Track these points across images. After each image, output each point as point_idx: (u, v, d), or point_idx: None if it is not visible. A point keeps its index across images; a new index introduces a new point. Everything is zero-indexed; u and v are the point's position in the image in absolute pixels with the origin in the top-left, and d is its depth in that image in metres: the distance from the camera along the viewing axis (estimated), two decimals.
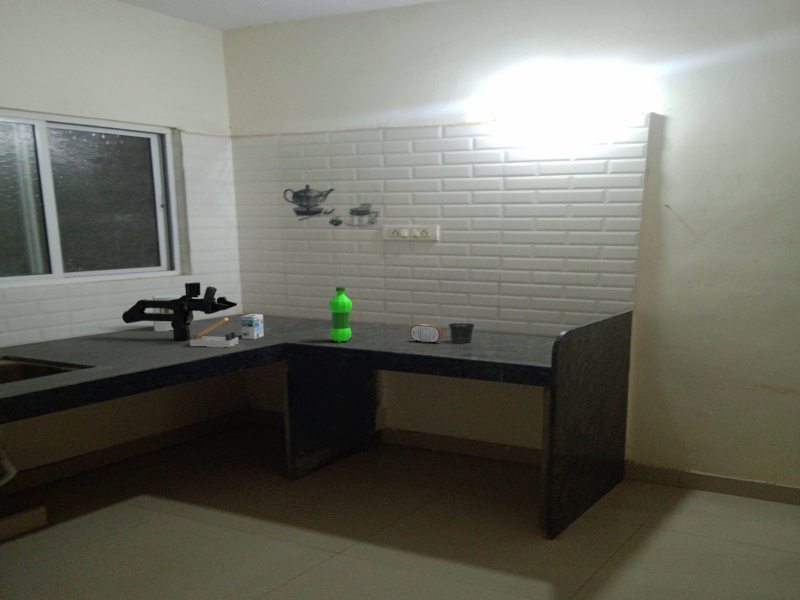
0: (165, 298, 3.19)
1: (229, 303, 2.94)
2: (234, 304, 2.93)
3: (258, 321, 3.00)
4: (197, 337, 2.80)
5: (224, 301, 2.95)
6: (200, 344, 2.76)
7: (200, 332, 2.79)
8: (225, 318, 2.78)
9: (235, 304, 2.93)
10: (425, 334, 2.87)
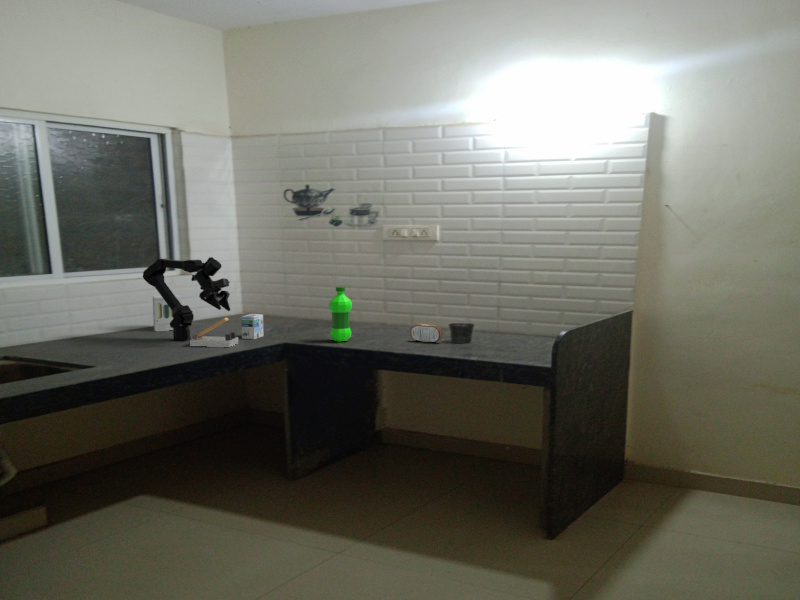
0: None
1: (225, 303, 2.88)
2: (228, 308, 2.87)
3: (258, 321, 3.00)
4: (197, 337, 2.80)
5: (224, 298, 2.89)
6: (200, 344, 2.76)
7: (200, 332, 2.79)
8: (225, 318, 2.78)
9: (228, 309, 2.87)
10: (425, 334, 2.87)
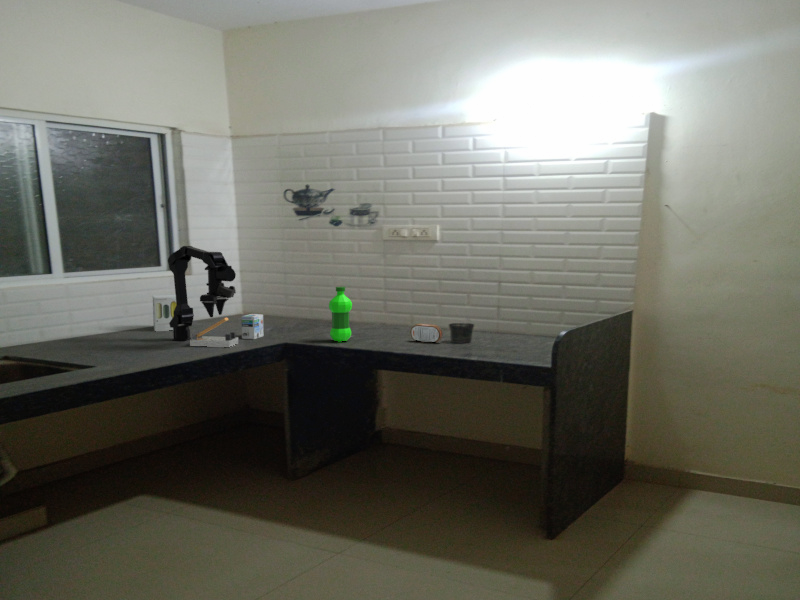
0: (165, 298, 3.19)
1: (220, 306, 2.83)
2: (219, 312, 2.83)
3: (258, 321, 3.00)
4: (197, 337, 2.80)
5: (222, 301, 2.83)
6: (200, 344, 2.76)
7: (200, 332, 2.79)
8: (225, 318, 2.78)
9: (220, 313, 2.83)
10: (425, 334, 2.87)
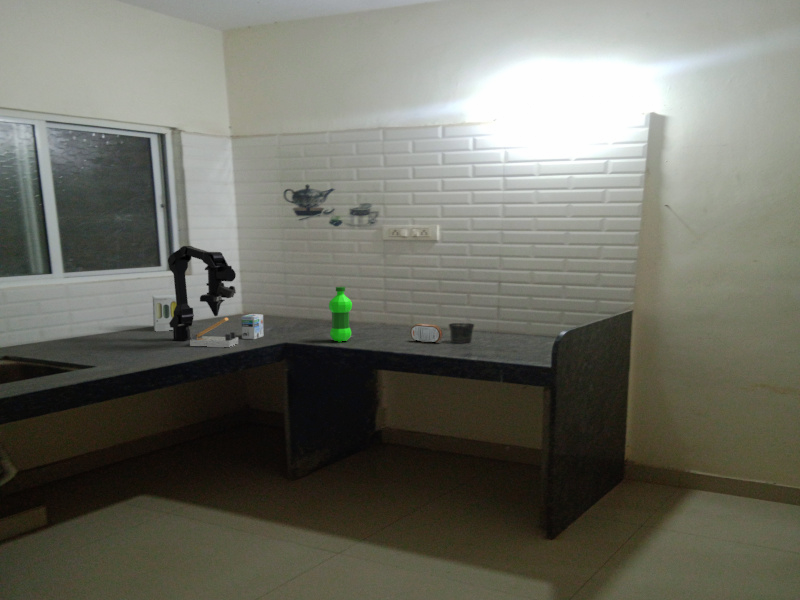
0: (165, 298, 3.19)
1: None
2: None
3: (258, 321, 3.00)
4: (197, 337, 2.80)
5: None
6: (200, 344, 2.76)
7: (200, 332, 2.79)
8: (225, 318, 2.78)
9: None
10: (425, 334, 2.87)
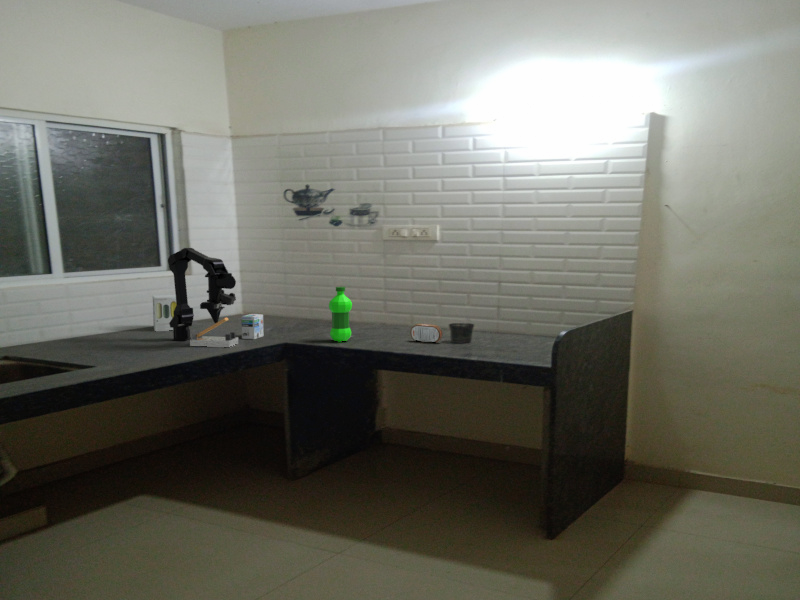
0: (165, 298, 3.19)
1: None
2: None
3: (258, 321, 3.00)
4: (197, 337, 2.80)
5: None
6: (200, 344, 2.76)
7: (200, 332, 2.79)
8: (225, 318, 2.78)
9: None
10: (425, 334, 2.87)
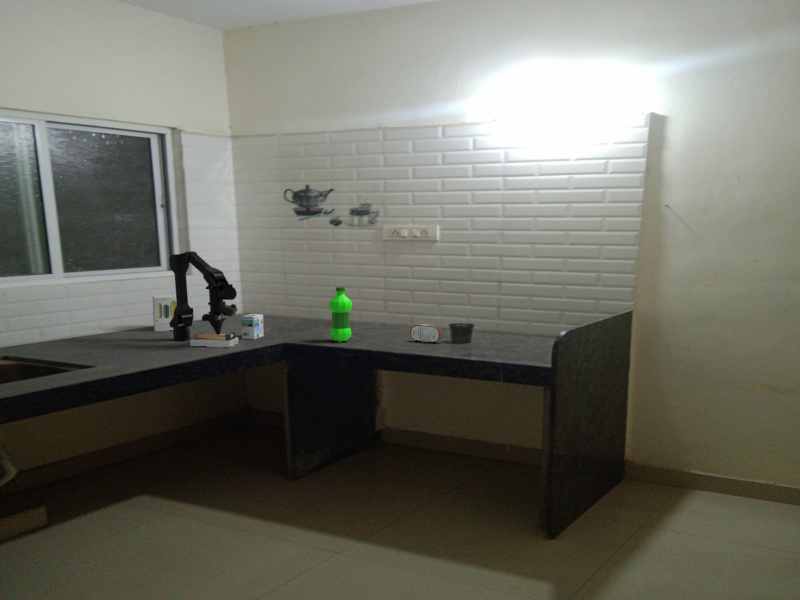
0: (165, 298, 3.19)
1: None
2: None
3: (258, 321, 3.00)
4: None
5: None
6: (200, 344, 2.76)
7: (201, 335, 2.79)
8: None
9: None
10: (425, 334, 2.87)
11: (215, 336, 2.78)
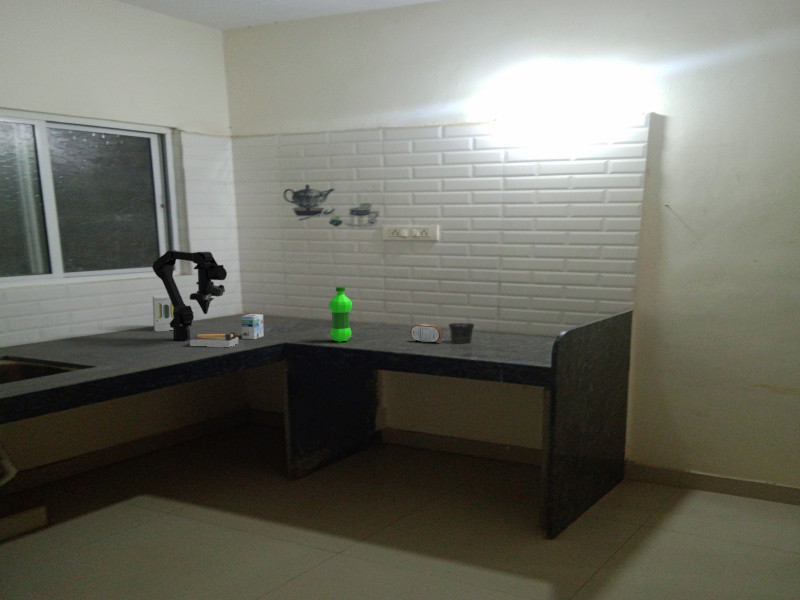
0: (165, 298, 3.19)
1: None
2: None
3: (258, 321, 3.00)
4: None
5: None
6: (200, 344, 2.76)
7: (201, 335, 2.79)
8: None
9: None
10: (425, 334, 2.87)
11: (215, 336, 2.78)
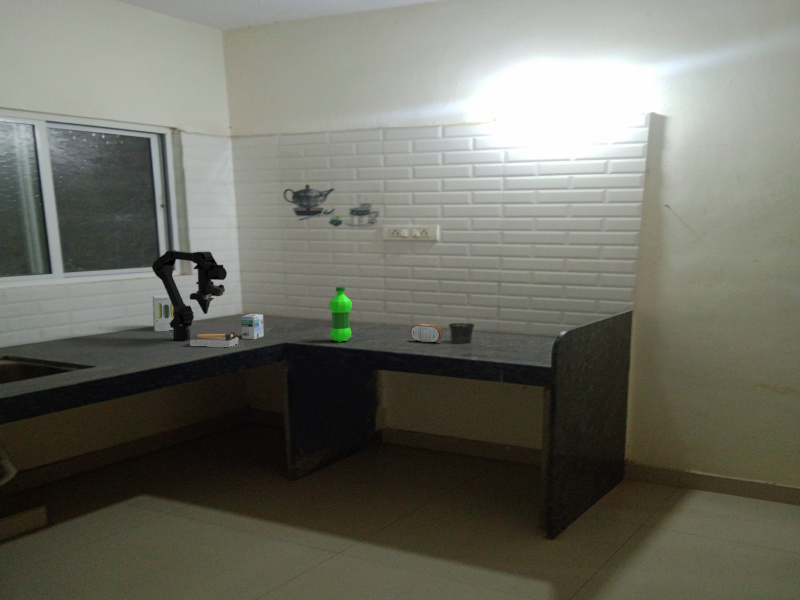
0: (165, 298, 3.19)
1: None
2: None
3: (258, 321, 3.00)
4: None
5: None
6: (200, 344, 2.76)
7: (201, 335, 2.79)
8: None
9: None
10: (425, 334, 2.87)
11: (215, 336, 2.78)
